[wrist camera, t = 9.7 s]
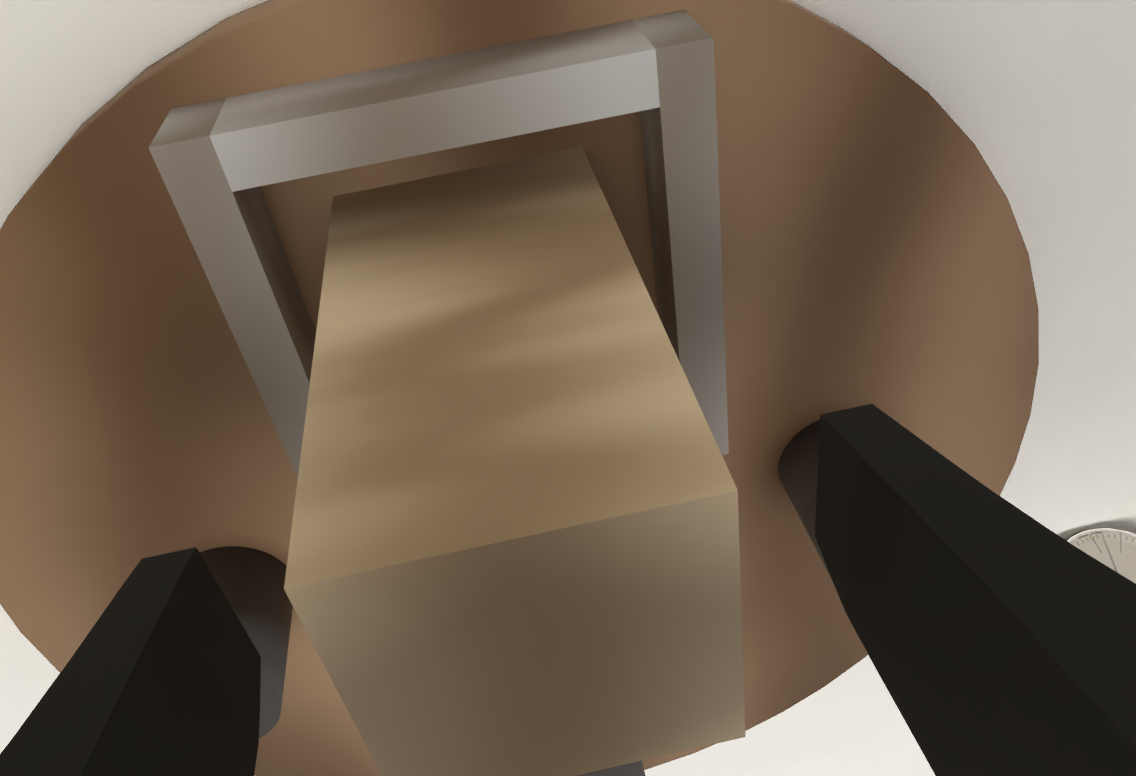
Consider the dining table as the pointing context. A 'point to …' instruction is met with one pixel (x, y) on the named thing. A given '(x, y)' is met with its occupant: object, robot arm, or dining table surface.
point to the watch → (1110, 549)
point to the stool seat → (455, 143)
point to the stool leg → (510, 488)
